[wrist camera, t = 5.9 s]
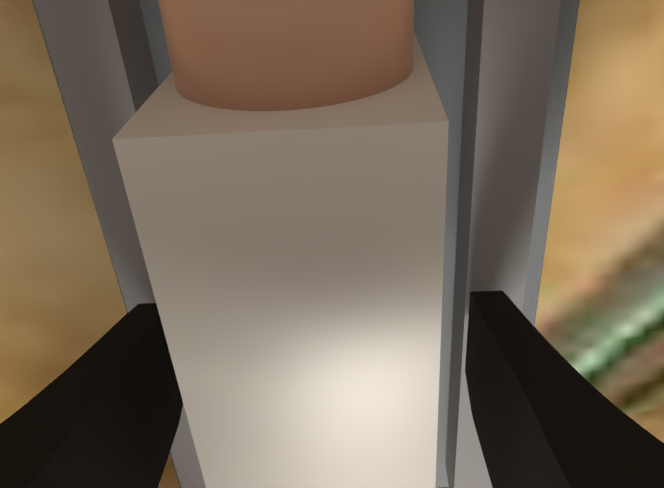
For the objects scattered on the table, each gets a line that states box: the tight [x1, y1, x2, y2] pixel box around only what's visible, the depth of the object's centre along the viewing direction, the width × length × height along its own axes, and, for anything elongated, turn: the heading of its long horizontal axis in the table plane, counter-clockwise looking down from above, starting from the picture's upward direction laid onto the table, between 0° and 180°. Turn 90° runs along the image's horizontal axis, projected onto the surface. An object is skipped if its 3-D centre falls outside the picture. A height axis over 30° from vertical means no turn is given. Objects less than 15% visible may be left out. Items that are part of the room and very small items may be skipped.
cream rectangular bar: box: [112, 0, 449, 488], centre depth 12 cm, size 13×4×5 cm, turn 4°
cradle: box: [32, 0, 579, 488], centre depth 14 cm, size 16×10×2 cm, turn 4°
